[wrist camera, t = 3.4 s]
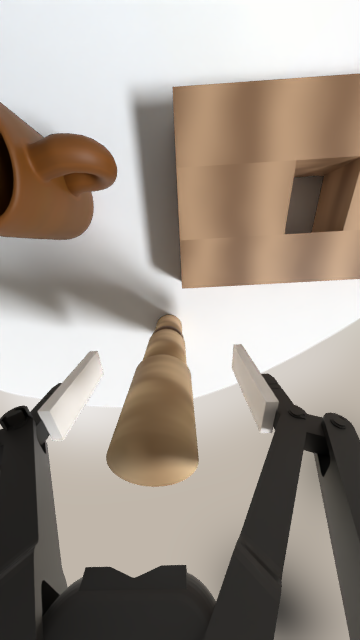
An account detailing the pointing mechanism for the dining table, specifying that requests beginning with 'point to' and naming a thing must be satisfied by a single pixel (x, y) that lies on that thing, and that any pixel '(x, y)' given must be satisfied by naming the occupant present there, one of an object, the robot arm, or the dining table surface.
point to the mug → (48, 180)
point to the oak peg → (157, 415)
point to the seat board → (267, 180)
